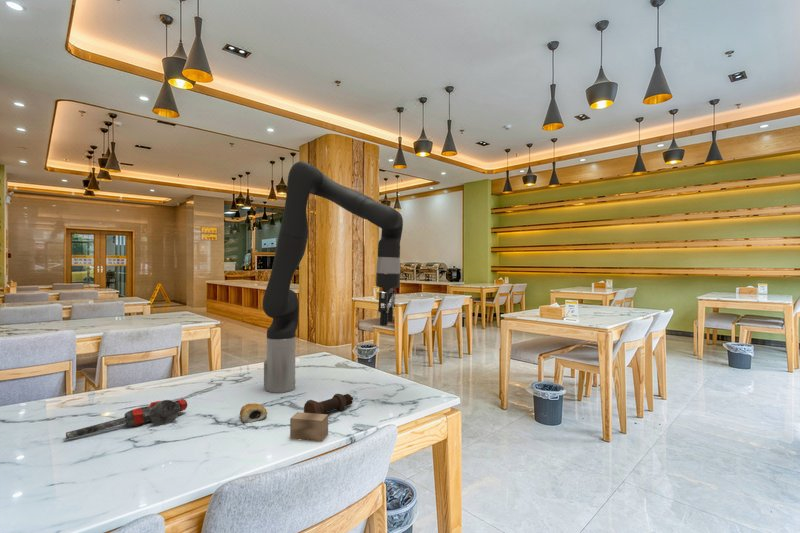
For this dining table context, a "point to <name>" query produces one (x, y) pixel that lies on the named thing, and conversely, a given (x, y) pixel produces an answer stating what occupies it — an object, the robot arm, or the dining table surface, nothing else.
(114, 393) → the dining table surface
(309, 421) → the brown wooden block
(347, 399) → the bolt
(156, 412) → the dark long red-banded part
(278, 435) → the dining table surface
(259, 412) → the pastry
